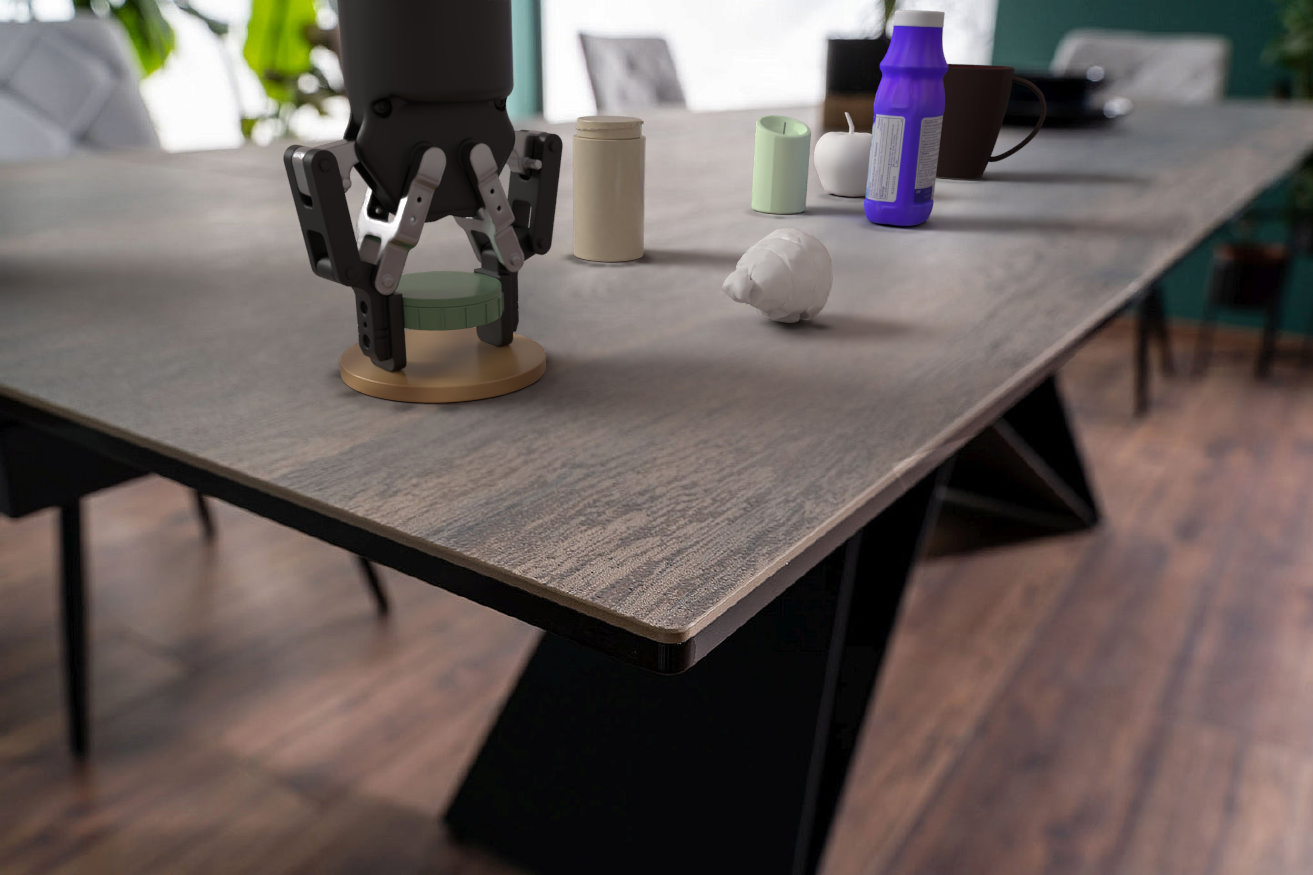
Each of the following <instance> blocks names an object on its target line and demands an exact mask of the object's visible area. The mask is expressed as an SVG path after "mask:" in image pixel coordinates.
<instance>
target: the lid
mask: <svg viewBox="0 0 1313 875" xmlns="http://www.w3.org/2000/svg"><path fill="white" fill-rule="evenodd" d="M395 292H398V293H401V294H402V296H403V311H404V327H405V329H406V330H412V329H413V330H427V331H443V330H444V331H445V330H458V329H467V328H472V327H473V328H476V327H478V326H482V325H486V324H488V323H491V322H493V321H495V320H497V319H499V318H500V317H501V316H502V313H503V311H504V293H503V292H502V284H501V282H500V281H499V280H498V279H496V278H494V277H490V276H487V275H483V274H479V273H474V272H471V271H459V270H458V271H457V270H436V271H435V270H433V271H421V272H412V273H406V274H402V276H401V279H400V282H399V285H398V288H397V289H396V291H395Z"/></svg>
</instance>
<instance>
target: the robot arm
mask: <svg viewBox="0 0 1313 875" xmlns="http://www.w3.org/2000/svg"><path fill="white" fill-rule="evenodd" d="M512 2H513V1H512V0H336V3H337V4H336V5H337V16H338V27H339V28H338V29H339V38H340V52H341V65H342V78H343V86H344V90H345V92H346V96H347V99H348V102H349V109H350V110H349V119H348V122H347V125H346V128H345V131H344V133H343V136H342V139H339V140H335V141H332V142H328V143H325V144H320V145H317V146H313V147H311V146H307V145H301V144H292V145H290V146H288V147H287V148H286V149H285V150H284V153H283V159H282V160H283V164H284V169H285V172H286V176H287V180H288V184H289V187H290V191H291V196H292V199H293V203H294V207H295V212H296V214H297V219H298V223H299V226H300V229H301V233H302V238H303V241H304V245H305V249H306V253H307V256H308V261H309V264H310V269H311V271H312V273H313V274H314V275H315V276H317V277H319V278H322V279H325V280H327V281H331V282H334V283H336V284H340V285H342V286H345V287H349V288H351V290H353V293H354V298H355V310H356V311H355V312H356V322H357V323H356V324H357V333H358V334H357V336H358V343H359V346H360V348H361V350H362V352H363V354H364V355H365V356H367V357H370V360H371V362H372V363H373V364H374V365H375V366H378V367H380V368H382V369H385V370H387V371H390V372H391V371H396V370H400V369H404V368H405V367H406V364H407V358H406V342H405V329H406V328H405V327H404V311H403V296H402V294H401V293H398V292H395V291H396V289H397V288H398V285H399V282H400V279H401V276H402V275H403V271H404V269H405V266H406V263H407V259H408V256H409V253H410V251H412V249H415V247H416V246H417V245H418V244H419V242H420V239H421V235H422V233H423V229H424V225H425V224H428V223H436V222H437V221H441V219H444V218H446V217H449V216H451V217H453V219H454V221H455V223H456V224H457V226H458V227H460V228H461V229H463V231H464V232H465V235H466V238H467V239H468V241H469V244H470V246H471V248H472V251H473V254H474V255H475V258H476V259H477V261H478V262H479V263H480V267H478V268H477V267H476V268H473V273H479V274H483V275H487V276H490V277H494V278H496V279H498V280H499V281H500V282H501V284H502V292H503V293H504V311H503V313H502V316H501V317H500V318H499V319H497V320H495V321H493V322H491V323H488V324H486V325H482V326H478V327H475V328H476V331H477V335H478V338H479V339H480V340H481V341H483V342H485V343H488V344H491V345H494V346H497V347H500V346H504V345H508V344H511V343H512V341H513V333H515V332H517V329H518V326H519V322H520V311H519V310H520V309H519V308H520V307H519V271H520V270H521V269H522V268H523V266H524V265H525V264H524V263H525V262H526V261H527V260H529V259H530V258H532V257H533V256H535V255H539V256H545V255H546V254H548V253H549V252H550V250H551V247H552V243H553V237H554V236H553V235H554V226H555V218H556V209H557V199H558V192H559V191H558V190H559V182H560V173H561V164H562V156H563V147H564V146H563V145H564V144H563V140H562V138H561V137H560V135H559V134H556V133H551V132H547V131H541V130H535V129H531V130H530V129H519V130H515V128H514V125H513V123H512V121H511V119H510V116H509V113H508V109H507V100H508V98H509V96H511V94H512V92H513V90H514V85H515V81H514V79H515V78H514V77H515V76H514V45H513V44H514V43H513V8H512V7H513V6H512ZM506 165H507V166H508V168H509V170H510V172H509V182H508V188H507V189H508V191H507V195H506V191H505V189H504V188H503V185H502V182H501V180H500V175H501V174H502V172H503V170H504V168H505V166H506ZM353 168H354V169H355V171H356V172H357V173H358V174H359V176H360V177H361V179H362V180H363V181H364V183H365V184H366V185H367V186H366V190H365V192H364V193H365V194H364V196H363V199H362V203H361V206H360V208H359V213H358V216H357V219H356V223H355V229H356V231H357V234H358V236H357V239H356V234H355V230H354V226H353V222H352V217H351V212H350V209H349V204H348V200H347V196H346V193H347V192H348V191H349V189H351V187H352V185H353V184H352V183H353V182H352V180H351V172H352V170H353ZM390 214H391V215H393V216H394V217H393V219H392V220H391V221H389V216H390Z"/></svg>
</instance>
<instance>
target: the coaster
mask: <svg viewBox="0 0 1313 875" xmlns="http://www.w3.org/2000/svg"><path fill="white" fill-rule="evenodd" d="M405 342H406V358H407V364H406V367H405V368H404V369H400V370H396V371H391V372H390V371H387V370H385V369H382V368H380V367H378V366H375V365H374V364H373V363H372V362H371V360H370V357H367V356H365V355H364V354H363V352H362V350H361V348H360V346H359V342H357V343H355V344H353V345H351V346H350V347H348V348H346V350H344V351H343V352H342V354H341V356H340V357H339V358H340V359H339V369H340V377H341V379H342V381H343V382H344V384H345V385H347V386H348V387H349V388H351V389H353V390H354V391H356V392H359V393H361V394H364V395H367V396H371V397H374V398H379V399H383V400H388V401H389V400H391V401H396V402H407V403H421V404H422V403H423V404H424V403H425V404H426V403H427V404H428V403H430V404H433V403H434V404H436V403H437V404H438V403H439V404H440V403H442V404H443V403H458V402H459V403H460V402H469V401H476V400H484V399H489V398H495V397H499V396H504V395H507V394H510V393H514V392H518V391H519V390H522V389H524V388H526V387H529V386H531V385H533V384H534V383H536V382H537V381H539V380H540V379H541V378H543V375H544V374H545V372H546V368H547V360H546V359H547V355H546V350H545V348H544V347H543V346H542V345H541V344H540V343H539V342H537V341H536V340H533V339H532V338H529V337H527V336H524V335H521V334H519V333H515V332H513V341H512V343H511V344H508V345H504V346H500V347H497V346H494V345H491V344H488V343H485V342H483V341H481V340H480V339H479V338H478V335H477V331H476V327H472V328H467V329H458V330H445V331H444V330H443V331H427V330H413V329H406V330H405Z"/></svg>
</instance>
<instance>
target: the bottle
mask: <svg viewBox="0 0 1313 875" xmlns="http://www.w3.org/2000/svg"><path fill="white" fill-rule="evenodd" d="M945 16H946V15H945V12H944V11H939V10H919V9H916V10H914V9H904V10H903V9H900V10H898V9H897V10H896V11H894V18H893V24H892V26H893V28H892V34H891V38H890V39H891V40H890V43H889V46H888V49H887V52H886V53H885V55H884V57H883V58H882V60H881V61H880V63H879V70H880V71H881V75H882V77H881V80H880V82H879V85H878V86H877V90H876V93H875V98H874V102H873V121H872V132H871V134H872V140H871V149H870V159H869V169H868V178H867V187H866V195H865V199H864V200H863V210H864V215H865V218H866V219H867V221H869V222H870V223H873V224H882V225H891V226H898V227H911V226H912V227H913V226H917V225H920V224H923V223H925V222H926V221H927V220H928V219H929V218H930V216H931V214H932V212H933V207H934V197H935V190H936V189H935V188H936V180H937V178H936V171H937V162H938V154H939V145H940V136H941V128H942V120H943V113H944V110H945V91H944V84H943V77H944V75H945V73H946V72H947V71H948V67H949V66H948V64H949V63H948V62H947V60H946V56H945V52H944V44H943V43H944V42H943V38H944V34H943V33H944V27H945V26H944V25H945Z"/></svg>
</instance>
